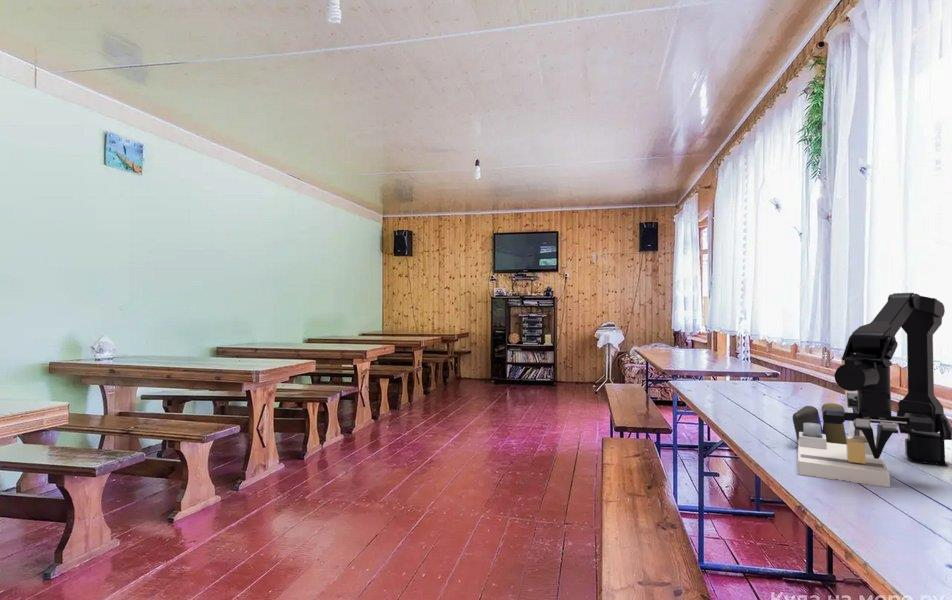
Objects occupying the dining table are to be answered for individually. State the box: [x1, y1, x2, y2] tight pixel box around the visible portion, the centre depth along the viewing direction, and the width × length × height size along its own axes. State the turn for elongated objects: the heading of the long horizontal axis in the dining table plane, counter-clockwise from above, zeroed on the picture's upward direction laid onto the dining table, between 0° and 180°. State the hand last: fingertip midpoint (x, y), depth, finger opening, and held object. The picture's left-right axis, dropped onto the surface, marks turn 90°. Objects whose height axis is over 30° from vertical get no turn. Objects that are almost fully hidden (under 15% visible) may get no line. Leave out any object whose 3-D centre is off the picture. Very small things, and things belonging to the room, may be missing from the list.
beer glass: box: [844, 390, 876, 440], centre depth 140 cm, size 7×7×15 cm
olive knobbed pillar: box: [821, 402, 847, 445], centre depth 136 cm, size 6×6×11 cm
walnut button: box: [853, 436, 868, 443], centre depth 118 cm, size 4×4×3 cm
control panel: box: [797, 432, 891, 488], centre depth 116 cm, size 16×22×6 cm
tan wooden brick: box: [846, 437, 866, 464], centre depth 109 cm, size 3×4×4 cm
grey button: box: [803, 423, 822, 438], centre depth 124 cm, size 4×4×3 cm
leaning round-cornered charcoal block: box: [792, 405, 823, 442], centre depth 135 cm, size 16×5×9 cm, turn 136°
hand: (876, 458), depth 107 cm, fingers closed
